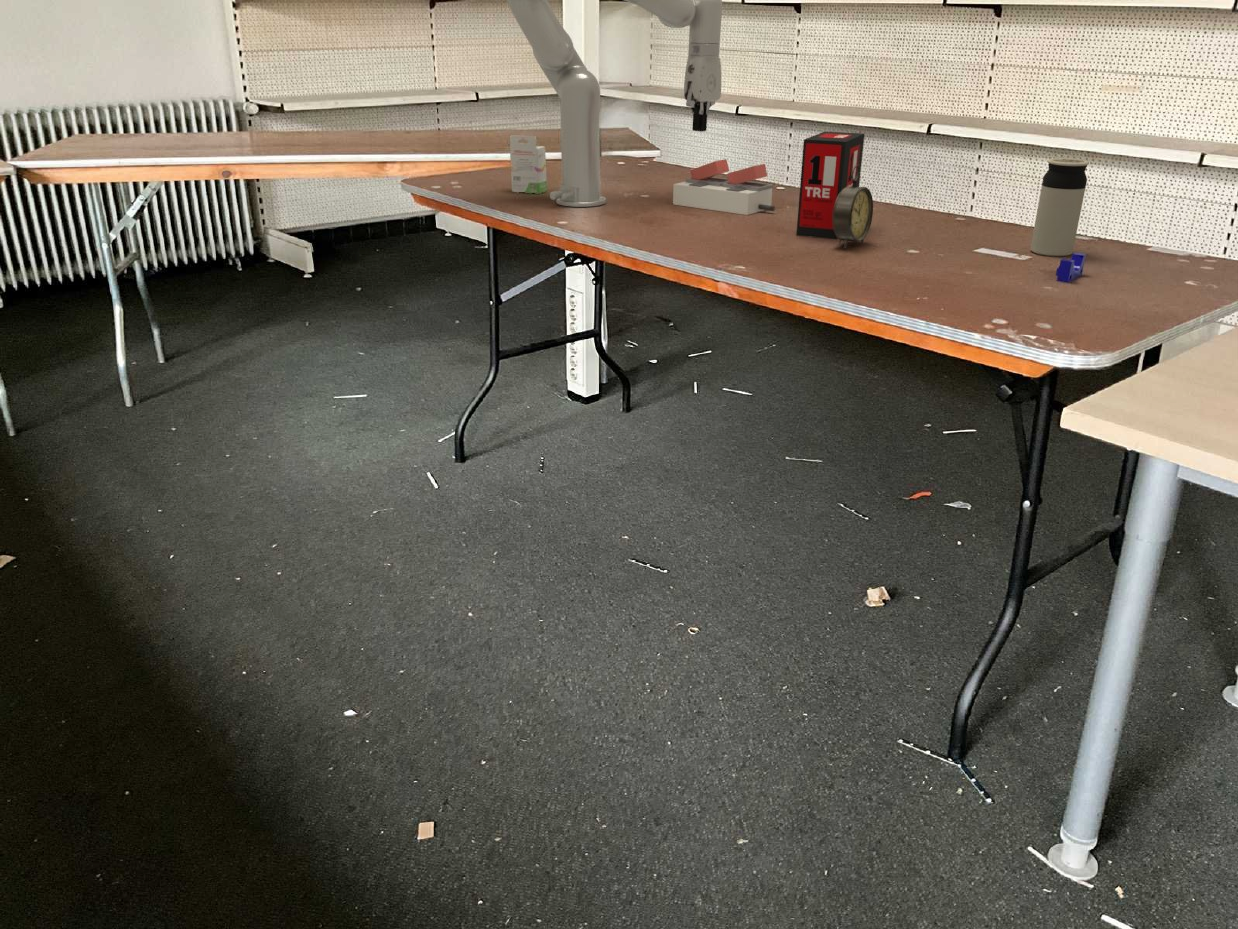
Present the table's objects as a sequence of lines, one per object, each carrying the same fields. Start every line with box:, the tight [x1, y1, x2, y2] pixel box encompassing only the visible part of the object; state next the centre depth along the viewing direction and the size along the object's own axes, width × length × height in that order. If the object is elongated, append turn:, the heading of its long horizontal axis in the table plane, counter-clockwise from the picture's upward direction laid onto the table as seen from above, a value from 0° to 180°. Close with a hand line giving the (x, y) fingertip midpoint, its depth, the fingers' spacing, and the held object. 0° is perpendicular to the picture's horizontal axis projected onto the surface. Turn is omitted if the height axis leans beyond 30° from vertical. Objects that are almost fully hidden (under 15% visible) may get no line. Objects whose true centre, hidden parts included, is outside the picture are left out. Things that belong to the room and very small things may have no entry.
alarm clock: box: [833, 165, 874, 250], centre depth 200 cm, size 11×5×16 cm, turn 143°
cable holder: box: [1055, 252, 1087, 284], centre depth 179 cm, size 8×4×4 cm, turn 139°
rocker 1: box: [689, 158, 730, 180], centre depth 244 cm, size 5×8×3 cm, turn 51°
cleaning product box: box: [795, 131, 866, 240], centre depth 213 cm, size 16×9×20 cm, turn 154°
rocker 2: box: [726, 163, 768, 185], centre depth 238 cm, size 5×8×3 cm, turn 51°
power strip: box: [672, 176, 776, 216], centre depth 241 cm, size 11×26×6 cm, turn 51°
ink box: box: [509, 134, 548, 195], centre depth 259 cm, size 9×5×15 cm, turn 65°
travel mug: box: [1029, 157, 1090, 258], centre depth 194 cm, size 8×8×18 cm
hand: (699, 130), depth 243 cm, fingers closed
